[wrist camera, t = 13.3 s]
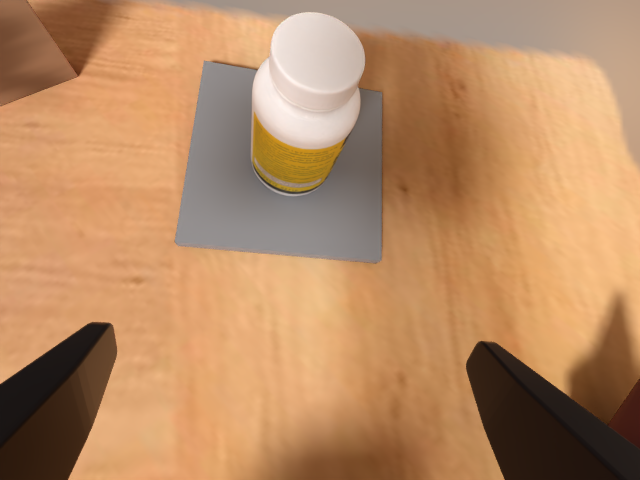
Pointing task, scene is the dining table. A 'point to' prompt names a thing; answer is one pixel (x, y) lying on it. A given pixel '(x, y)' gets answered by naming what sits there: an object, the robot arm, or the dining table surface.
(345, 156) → the grey mat
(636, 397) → the icecream
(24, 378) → the robot arm
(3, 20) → the walnut screen
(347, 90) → the supplement bottle
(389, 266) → the dining table surface
